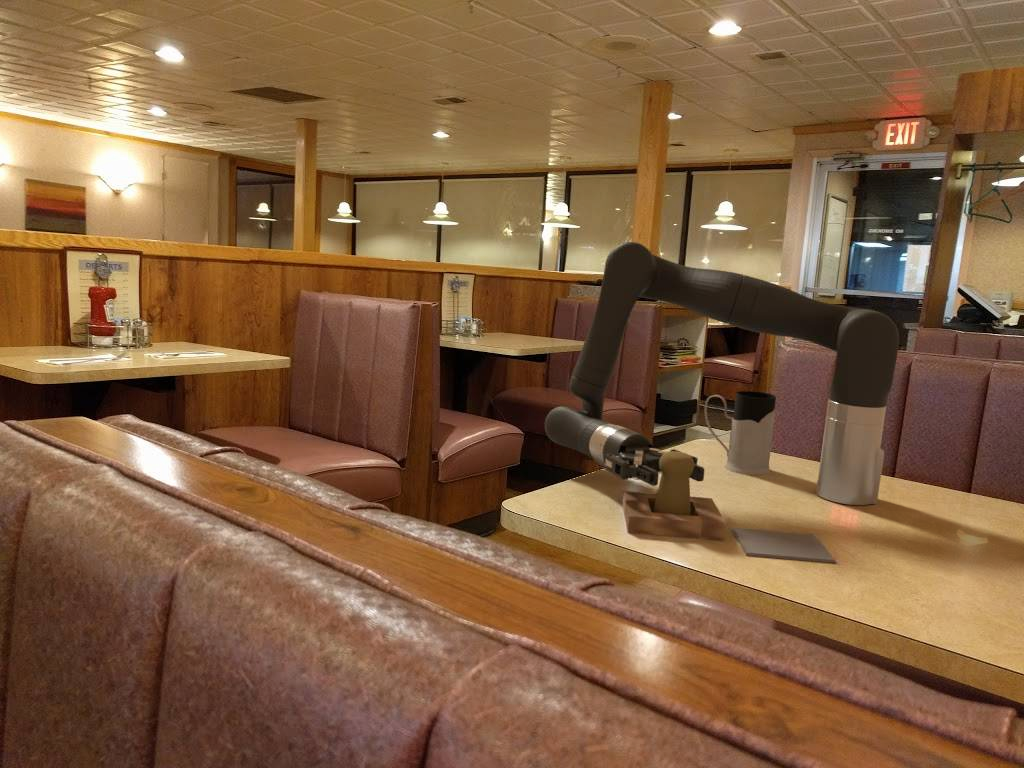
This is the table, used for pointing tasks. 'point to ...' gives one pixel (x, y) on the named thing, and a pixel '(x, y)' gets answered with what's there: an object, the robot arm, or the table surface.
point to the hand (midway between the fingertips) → (679, 477)
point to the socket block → (673, 518)
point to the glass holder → (749, 432)
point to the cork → (674, 484)
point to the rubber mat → (782, 545)
